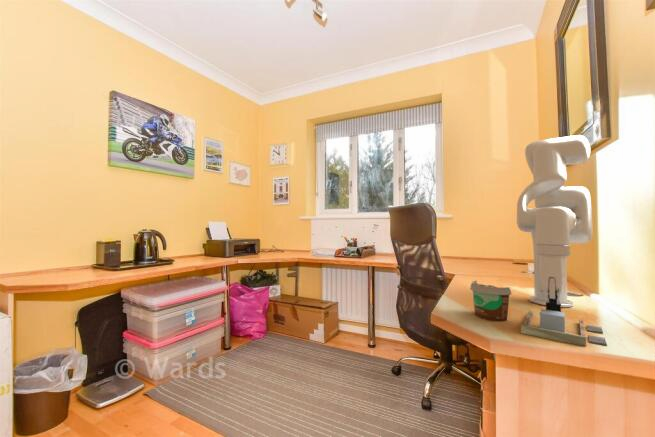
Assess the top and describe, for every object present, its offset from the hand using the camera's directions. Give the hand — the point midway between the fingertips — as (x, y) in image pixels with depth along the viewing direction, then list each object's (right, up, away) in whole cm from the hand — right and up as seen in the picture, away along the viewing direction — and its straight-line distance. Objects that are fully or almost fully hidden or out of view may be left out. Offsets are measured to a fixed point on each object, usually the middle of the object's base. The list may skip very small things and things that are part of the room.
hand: (553, 317), depth 80 cm
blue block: (-3, -3, -4) cm, 5 cm away
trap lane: (+1, -3, -2) cm, 3 cm away
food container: (-14, -3, +9) cm, 17 cm away
